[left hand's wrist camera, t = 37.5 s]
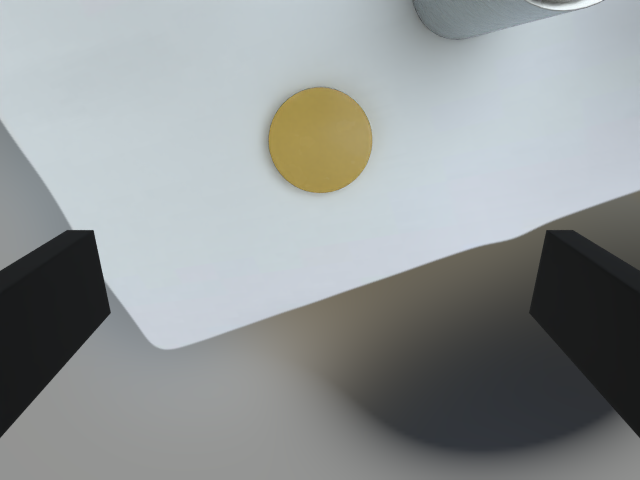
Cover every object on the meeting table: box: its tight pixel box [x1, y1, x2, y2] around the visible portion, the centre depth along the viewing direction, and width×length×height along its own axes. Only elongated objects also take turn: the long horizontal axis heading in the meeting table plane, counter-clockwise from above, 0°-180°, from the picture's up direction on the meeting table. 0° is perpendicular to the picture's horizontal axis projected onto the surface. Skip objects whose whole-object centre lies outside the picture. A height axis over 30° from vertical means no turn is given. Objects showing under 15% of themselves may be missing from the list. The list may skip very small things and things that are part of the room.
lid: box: [269, 87, 372, 193], centre depth 39 cm, size 10×10×2 cm
